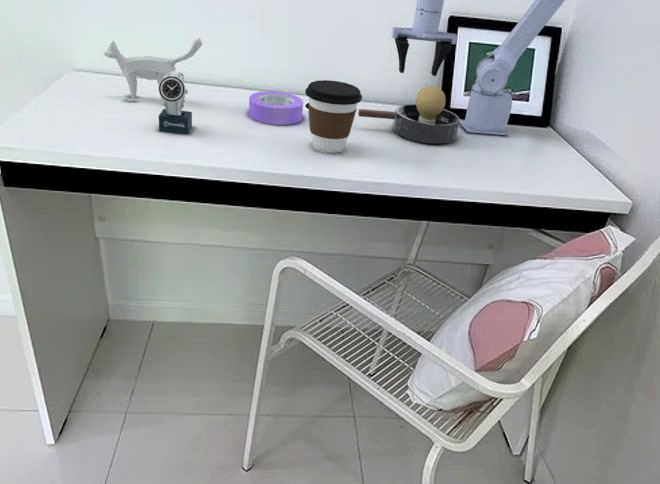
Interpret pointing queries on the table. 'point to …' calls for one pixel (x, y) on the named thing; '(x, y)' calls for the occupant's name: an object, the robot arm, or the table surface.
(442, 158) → the table surface
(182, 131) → the watch
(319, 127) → the coffee cup
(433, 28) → the robot arm
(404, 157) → the table surface
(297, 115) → the tape roll
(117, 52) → the cat figurine
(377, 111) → the pan handle
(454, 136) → the pan
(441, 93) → the light bulb
